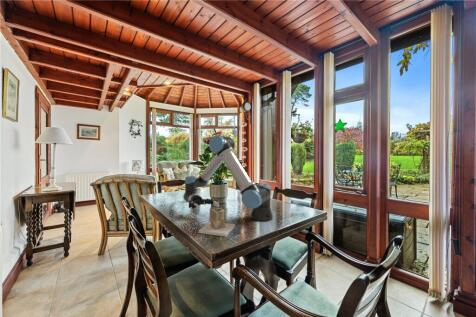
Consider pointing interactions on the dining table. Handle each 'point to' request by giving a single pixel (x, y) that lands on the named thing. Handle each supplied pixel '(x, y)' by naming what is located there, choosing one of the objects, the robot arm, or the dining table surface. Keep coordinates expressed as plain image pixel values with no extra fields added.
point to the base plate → (219, 232)
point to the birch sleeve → (217, 218)
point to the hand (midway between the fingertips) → (209, 206)
